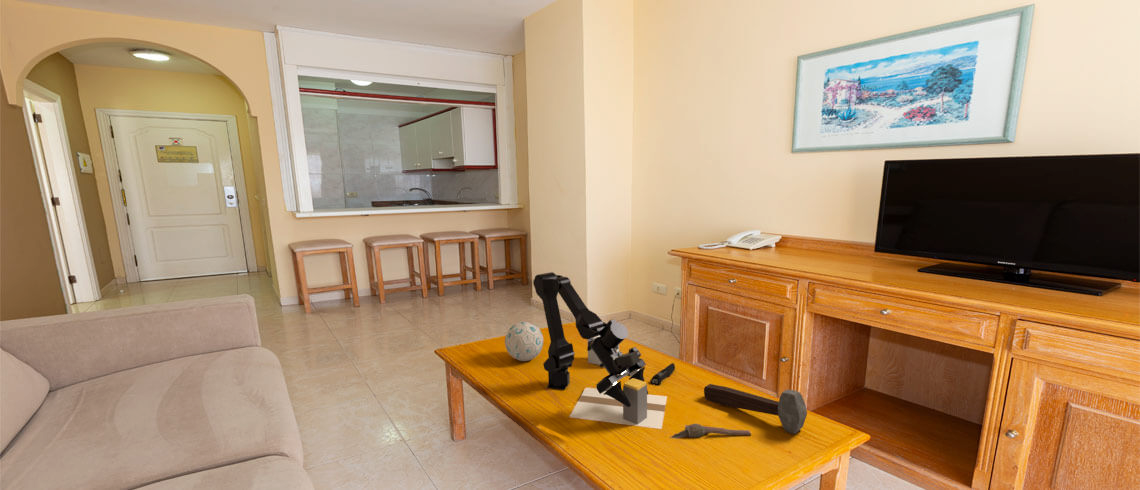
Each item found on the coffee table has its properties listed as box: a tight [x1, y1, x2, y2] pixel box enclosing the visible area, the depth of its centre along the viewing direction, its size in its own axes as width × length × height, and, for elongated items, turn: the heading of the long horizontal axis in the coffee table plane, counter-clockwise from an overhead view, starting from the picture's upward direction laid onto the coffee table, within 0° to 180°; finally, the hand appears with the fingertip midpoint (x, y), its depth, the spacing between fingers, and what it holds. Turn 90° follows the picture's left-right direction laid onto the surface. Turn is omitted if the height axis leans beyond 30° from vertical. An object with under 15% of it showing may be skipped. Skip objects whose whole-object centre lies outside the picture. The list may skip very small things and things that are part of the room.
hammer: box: [703, 383, 808, 435], centre depth 138 cm, size 5×11×30 cm
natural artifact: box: [669, 423, 752, 439], centre depth 127 cm, size 4×23×4 cm
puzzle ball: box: [504, 321, 544, 362], centre depth 183 cm, size 15×15×15 cm
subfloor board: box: [568, 387, 668, 430], centre depth 143 cm, size 27×20×1 cm
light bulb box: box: [587, 336, 620, 366], centre depth 178 cm, size 11×7×11 cm, turn 58°
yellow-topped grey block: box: [622, 378, 648, 425], centre depth 135 cm, size 5×5×11 cm
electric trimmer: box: [650, 362, 676, 387], centre depth 165 cm, size 4×16×3 cm, turn 143°
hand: (638, 400), depth 134 cm, fingers open, 9 cm apart
